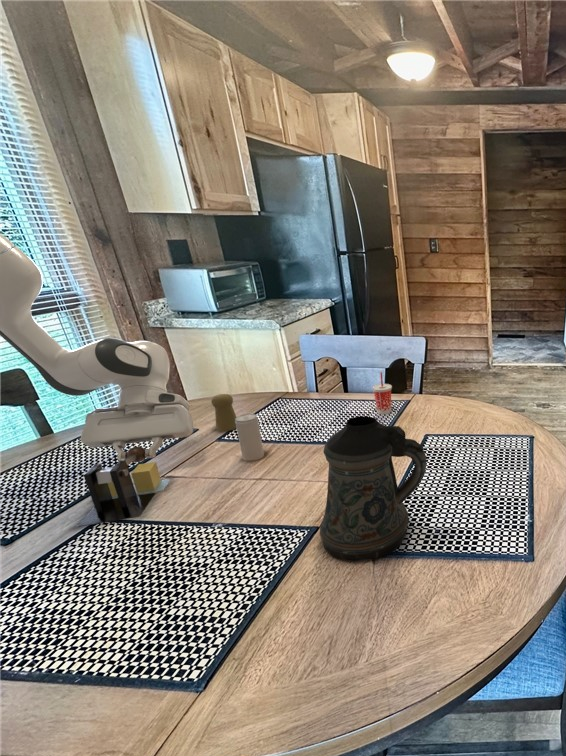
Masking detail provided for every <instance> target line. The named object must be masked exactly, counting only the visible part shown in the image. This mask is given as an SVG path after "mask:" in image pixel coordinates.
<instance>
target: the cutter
mask: <svg viewBox="0 0 566 756" xmlns="http://www.w3.org/2000/svg"><path fill="white" fill-rule="evenodd" d="M112 467H113V469H112V470H111V471H110V474H111V477H112V480H113V483H114V486H115V489H116V492H117V495H118V497H115V498H112V495H111V492H110V489H109V486H108V483H103V484H98V480H97V476H96V473H97V472H98V471H100V470H101V469H103V468H104V467H103V465H102V463H95V464H93V465H92V466H91V467H90V468H89V469H88V470H87V471H86V472H85V473H84V474H83V478H84V481H85V484H86V486H87V489H88V491H89V492H88V493H89V495H90V498H91V501H92V503H93V507H92V508H91V509H90V510H89V511H88V513H87V514H86V515H85V516H84V517H83V519H82V520H81V521H79V523H78V524H77V525H76V528H80V527H85V526H92V525H97V524H103V523H110V522H115V521H121V520H128V519H131V518H132V519H133V518H139V517H141V516H142V514H143V513H144V512H145V510H146V509H147V507H148V506H149V505H150V503H151V501H152V500H153V499H154V497H155V495H156V494H157V492H158V491H155V492H148V493H142V494H136V492H135V489H134V485H133V484H134V481H133V478H132V475H131V472H130V469H129V467H128V465H127V463H126V460H123V461H117V463H116V464H115V465H114V466H112Z"/></svg>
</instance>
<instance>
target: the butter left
mask: <svg viewBox="0 0 566 756" xmlns="http://www.w3.org/2000/svg"><path fill="white" fill-rule="evenodd" d="M108 486H109V489H110V492H111V495H112V496H118V495H117V492H116V489H115V486H114V483H113V482H110V483H108Z"/></svg>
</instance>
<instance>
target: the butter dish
mask: <svg viewBox="0 0 566 756" xmlns="http://www.w3.org/2000/svg"><path fill="white" fill-rule="evenodd" d="M170 481H171V478H165V479H161V482H160V484H159V485H158V486H157V488H156V489H155V490H152V491H146V492H139V493H137V490H136V487H135V484H134V483H133V485H134V489H135V492H136V495H142V494H148V493H155V492H161V491H164V489H165V488H166V487H167V485H168V483H170ZM112 498H113V499H116V498H118V496H112Z"/></svg>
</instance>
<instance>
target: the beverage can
mask: <svg viewBox="0 0 566 756" xmlns="http://www.w3.org/2000/svg"><path fill="white" fill-rule="evenodd" d="M236 417H237V418H236V419H235V420H236V421H235V423H236V431H237V437H238V442H239V447H240V452H241V457H242V460H244V461H246V462H247V461H248V462H249V461H259V460H261V459H262V458H263V457H264V456H265V452H264V445H263V441H262V435H261V429H260V424H259V423H260V422H259V418H258V416H257V414H255V413H245V414H241V415H238V416H236Z"/></svg>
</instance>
